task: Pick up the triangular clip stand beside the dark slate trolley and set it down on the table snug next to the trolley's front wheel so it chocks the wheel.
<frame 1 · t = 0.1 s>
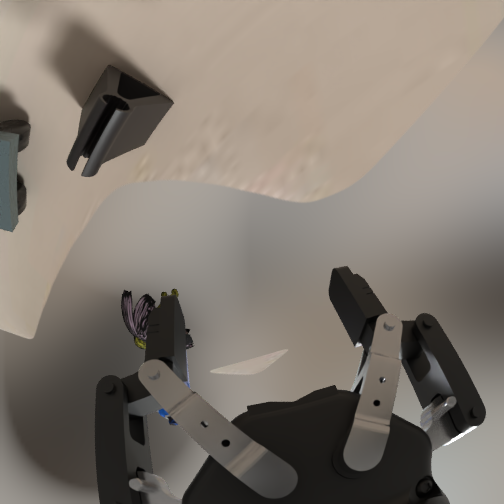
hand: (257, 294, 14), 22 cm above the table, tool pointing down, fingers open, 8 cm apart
decorative flower: (155, 296, 47), on the table
triangular clip stand: (127, 104, 24), on the table
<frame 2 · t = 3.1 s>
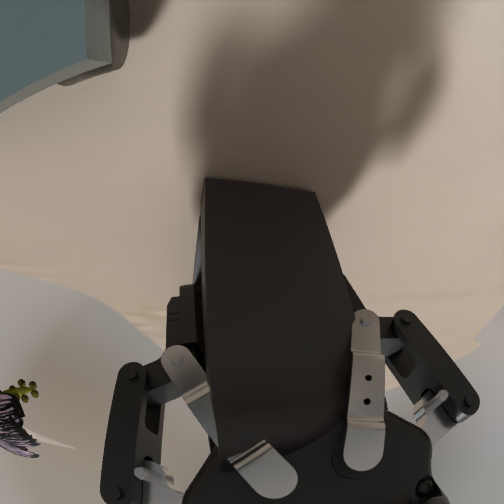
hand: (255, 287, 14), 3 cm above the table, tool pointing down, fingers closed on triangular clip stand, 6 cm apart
decorative flower: (6, 366, 20), on the table
triangular clip stand: (245, 250, 17), on the table, touching gripper
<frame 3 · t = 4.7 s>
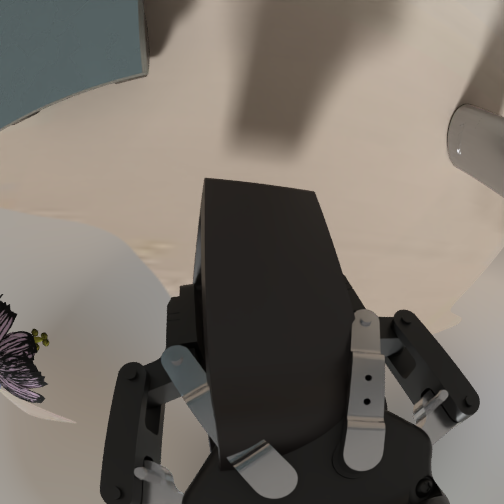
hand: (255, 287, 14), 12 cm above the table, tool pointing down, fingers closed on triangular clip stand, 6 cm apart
decorative flower: (21, 320, 27), on the table
triangular clip stand: (244, 249, 17), point 9 cm above the table, touching gripper
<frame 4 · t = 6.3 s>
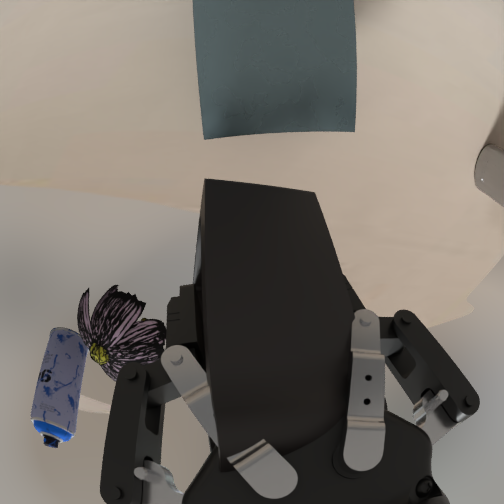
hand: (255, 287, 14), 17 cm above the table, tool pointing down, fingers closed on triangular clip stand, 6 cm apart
decorative flower: (124, 310, 36), on the table
trolley: (259, 25, 18), on the table
aerosol can: (69, 340, 38), on the table
triangular clip stand: (245, 250, 17), point 13 cm above the table, touching gripper
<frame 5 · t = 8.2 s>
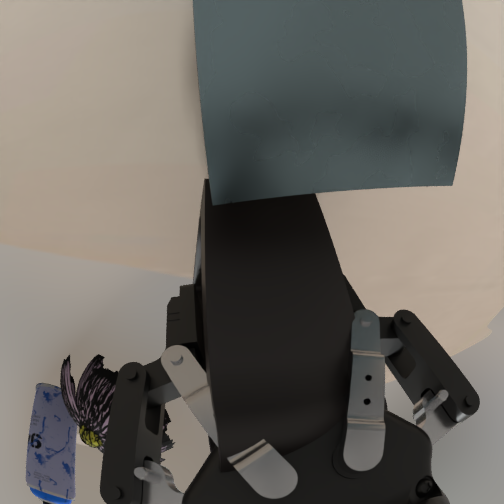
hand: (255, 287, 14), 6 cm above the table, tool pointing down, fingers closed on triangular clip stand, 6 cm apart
decorative flower: (116, 376, 27), on the table
aerosol can: (58, 394, 29), on the table
triangular clip stand: (245, 250, 17), point 2 cm above the table, touching gripper
when the fingers open (4 cm above the table, at t = 9.5 s): triangular clip stand drops 1 cm, on the table.
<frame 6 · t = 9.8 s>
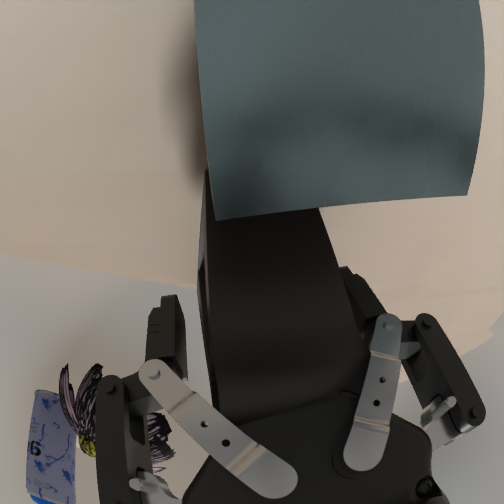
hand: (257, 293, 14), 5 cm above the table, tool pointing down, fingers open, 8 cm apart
decorative flower: (115, 384, 26), on the table
aerosol can: (57, 400, 28), on the table
triangular clip stand: (245, 236, 18), on the table
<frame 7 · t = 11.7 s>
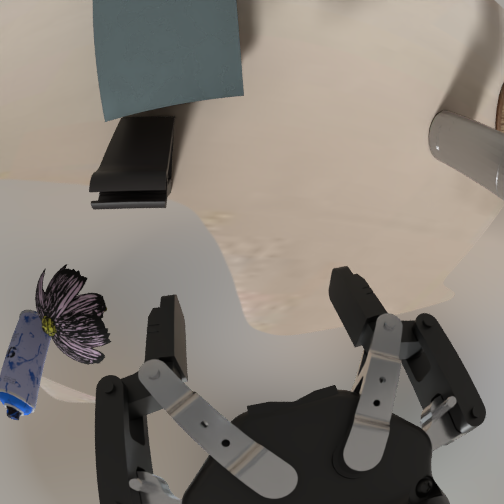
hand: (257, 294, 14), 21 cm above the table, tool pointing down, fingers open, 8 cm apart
decorative flower: (78, 290, 36), on the table
trolley: (167, 19, 19), on the table
aerosol can: (36, 323, 37), on the table
triangular clip stand: (146, 154, 28), on the table
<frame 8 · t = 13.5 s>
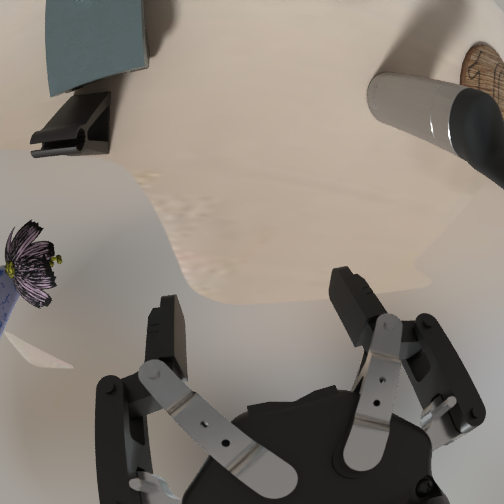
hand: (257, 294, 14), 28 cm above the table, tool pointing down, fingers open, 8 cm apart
decorative flower: (41, 245, 38), on the table
trolley: (106, 17, 21), on the table
aerosol can: (10, 279, 40), on the table
triangular clip stand: (90, 123, 30), on the table
trivet: (486, 94, 35), on the table
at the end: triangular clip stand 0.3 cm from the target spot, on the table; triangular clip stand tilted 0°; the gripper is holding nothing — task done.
